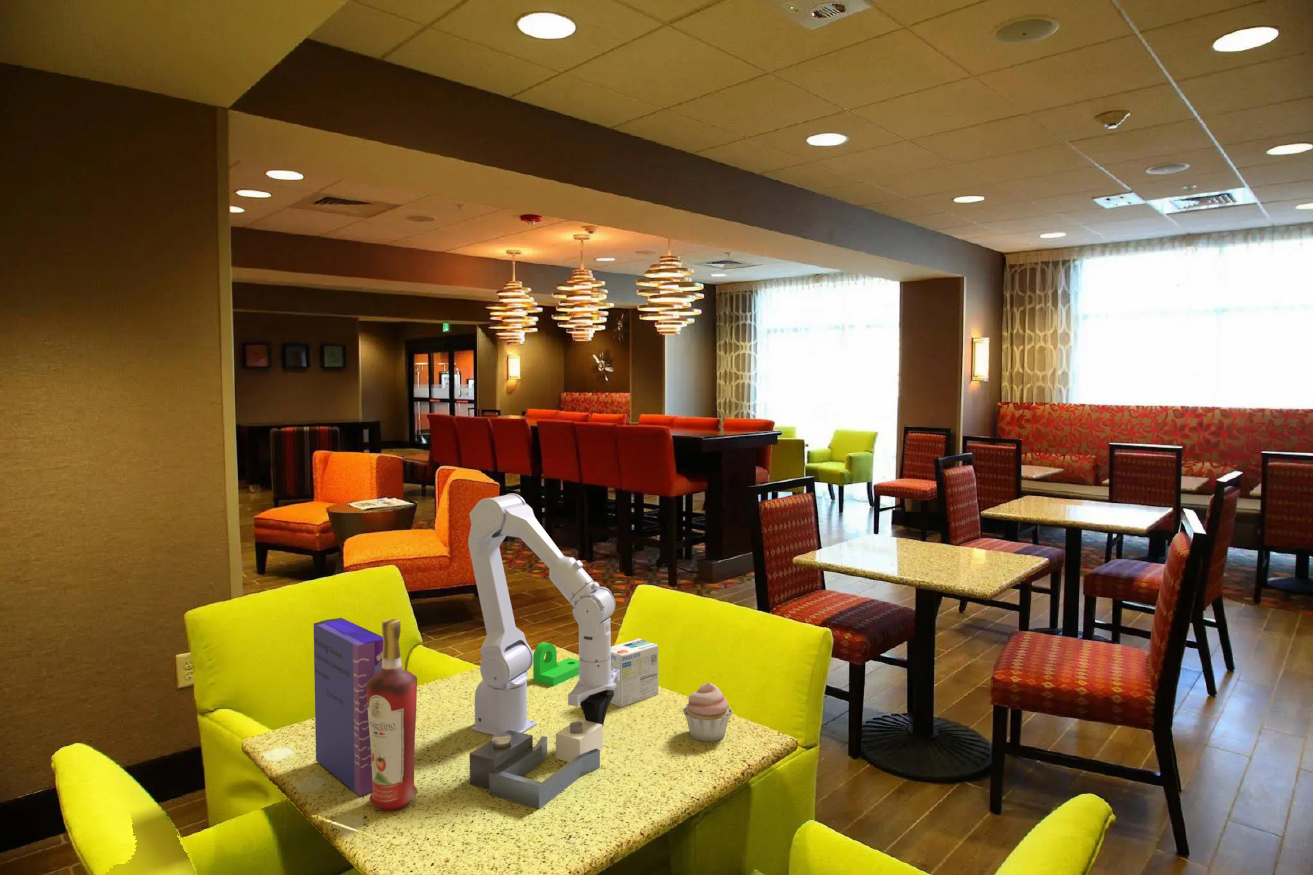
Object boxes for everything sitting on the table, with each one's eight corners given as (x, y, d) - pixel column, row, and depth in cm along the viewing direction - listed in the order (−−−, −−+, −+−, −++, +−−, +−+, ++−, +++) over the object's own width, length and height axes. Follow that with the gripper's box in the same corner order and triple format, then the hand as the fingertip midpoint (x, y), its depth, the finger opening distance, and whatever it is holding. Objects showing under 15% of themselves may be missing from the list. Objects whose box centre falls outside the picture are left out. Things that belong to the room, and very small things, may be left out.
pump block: (556, 759, 130) (555, 726, 130) (579, 743, 137) (579, 712, 136) (579, 765, 128) (579, 732, 128) (602, 749, 134) (602, 717, 134)
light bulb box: (638, 686, 164) (638, 637, 164) (659, 695, 159) (659, 644, 159) (600, 699, 157) (599, 647, 157) (620, 708, 152) (620, 655, 152)
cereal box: (389, 786, 121) (387, 637, 120) (360, 797, 117) (357, 644, 117) (343, 751, 133) (341, 616, 132) (315, 760, 130) (313, 622, 129)
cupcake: (696, 751, 133) (696, 694, 133) (673, 730, 142) (673, 677, 141) (742, 741, 137) (742, 686, 137) (717, 722, 146) (717, 670, 145)
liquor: (357, 811, 113) (354, 626, 112) (387, 788, 120) (384, 613, 119) (400, 818, 111) (397, 630, 110) (428, 794, 118) (426, 616, 117)
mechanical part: (553, 686, 165) (553, 650, 164) (533, 681, 168) (533, 645, 168) (588, 670, 175) (588, 636, 174) (568, 666, 178) (568, 632, 178)
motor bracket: (464, 787, 120) (464, 749, 120) (525, 748, 134) (525, 713, 134) (545, 811, 113) (545, 770, 113) (601, 767, 127) (600, 730, 127)
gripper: (592, 673, 128) (592, 752, 128) (633, 649, 141) (634, 721, 141) (557, 666, 131) (558, 744, 132) (601, 643, 144) (601, 714, 145)
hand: (595, 731), depth 137 cm, fingers closed
